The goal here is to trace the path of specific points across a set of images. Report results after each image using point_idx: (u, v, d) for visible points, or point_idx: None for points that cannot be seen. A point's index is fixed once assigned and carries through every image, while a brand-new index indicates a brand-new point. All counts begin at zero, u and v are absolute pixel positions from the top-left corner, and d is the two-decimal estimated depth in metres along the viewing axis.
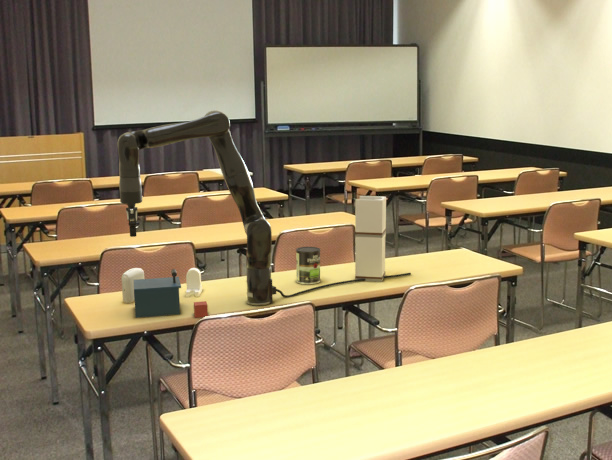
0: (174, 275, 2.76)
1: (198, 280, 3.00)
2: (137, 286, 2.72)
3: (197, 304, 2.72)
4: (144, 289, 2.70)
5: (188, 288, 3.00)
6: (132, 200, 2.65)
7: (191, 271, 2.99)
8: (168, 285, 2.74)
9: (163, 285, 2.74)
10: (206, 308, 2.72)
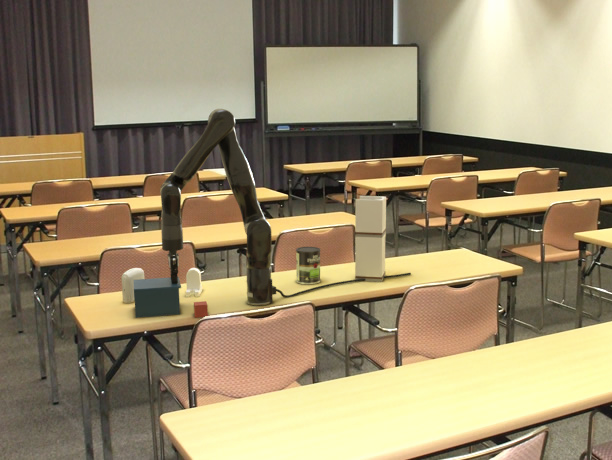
0: None
1: (198, 280, 3.00)
2: (137, 286, 2.72)
3: (197, 304, 2.72)
4: (144, 289, 2.70)
5: (188, 288, 3.00)
6: (174, 247, 2.73)
7: (191, 271, 2.99)
8: (168, 285, 2.74)
9: (163, 285, 2.74)
10: (206, 308, 2.72)
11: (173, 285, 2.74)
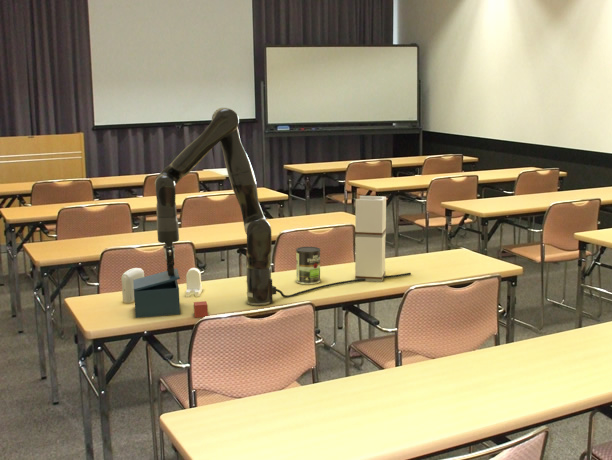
0: None
1: (198, 280, 3.00)
2: (137, 285, 2.72)
3: (197, 304, 2.72)
4: (144, 287, 2.69)
5: (188, 288, 3.00)
6: (170, 239, 2.72)
7: (191, 271, 2.99)
8: (167, 278, 2.73)
9: (162, 279, 2.73)
10: (206, 308, 2.72)
11: (172, 277, 2.73)
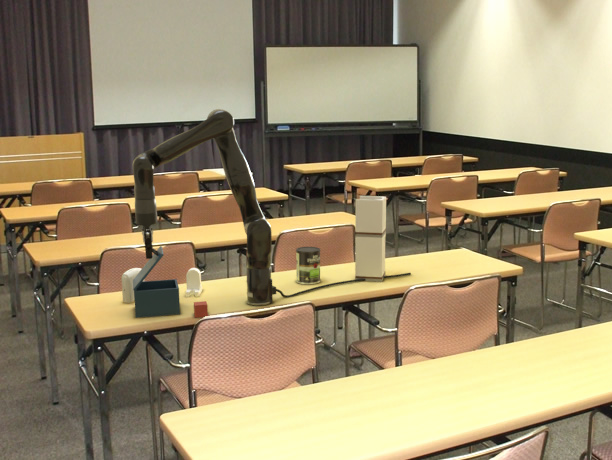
0: None
1: (198, 280, 3.00)
2: (135, 284, 2.72)
3: (197, 304, 2.72)
4: (140, 282, 2.69)
5: (188, 288, 3.00)
6: (148, 221, 2.69)
7: (191, 271, 2.99)
8: (154, 262, 2.71)
9: (151, 265, 2.71)
10: (206, 308, 2.72)
11: (157, 258, 2.70)
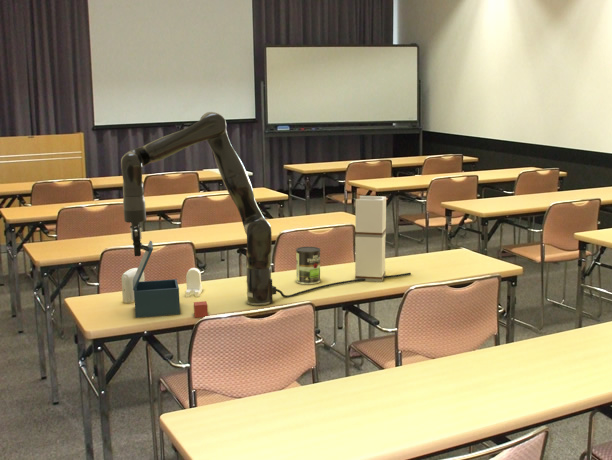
0: (140, 247, 2.71)
1: (198, 280, 3.00)
2: (134, 284, 2.72)
3: (197, 304, 2.72)
4: (137, 281, 2.68)
5: (188, 288, 3.00)
6: (136, 219, 2.67)
7: (191, 271, 2.99)
8: (146, 258, 2.70)
9: (144, 262, 2.70)
10: (206, 308, 2.72)
11: (148, 253, 2.69)
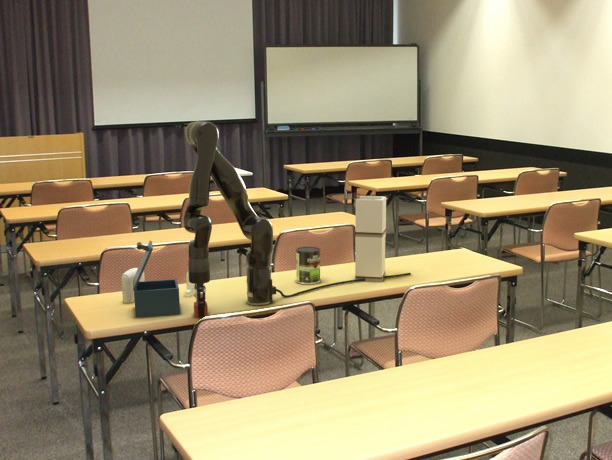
0: (140, 247, 2.71)
1: None
2: (134, 284, 2.72)
3: (197, 304, 2.72)
4: (137, 281, 2.68)
5: (188, 288, 3.00)
6: (201, 280, 2.68)
7: None
8: (145, 258, 2.70)
9: (144, 262, 2.70)
10: (206, 308, 2.72)
11: (147, 253, 2.69)
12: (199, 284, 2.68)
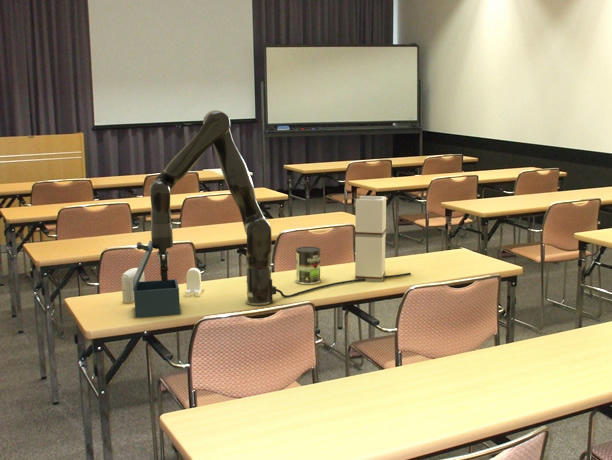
0: (140, 247, 2.71)
1: (198, 280, 3.00)
2: (134, 284, 2.72)
3: None
4: (137, 281, 2.68)
5: (188, 288, 3.00)
6: (164, 245, 2.72)
7: (191, 271, 2.99)
8: (145, 258, 2.70)
9: (144, 262, 2.70)
10: None
11: (147, 253, 2.69)
12: (161, 249, 2.72)
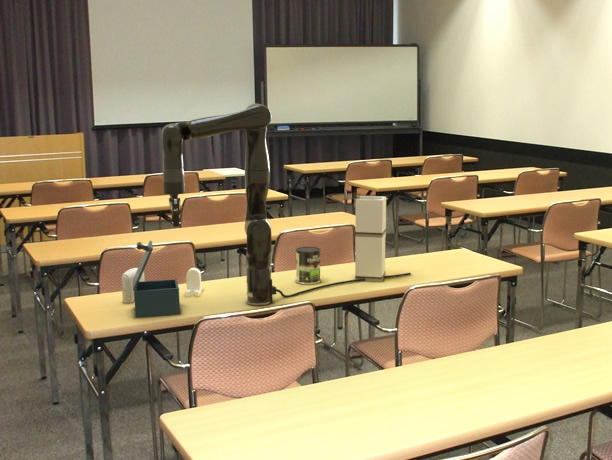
0: (140, 247, 2.71)
1: (198, 280, 3.00)
2: (134, 284, 2.72)
3: None
4: (137, 281, 2.68)
5: (188, 288, 3.00)
6: (175, 191, 2.69)
7: (191, 271, 2.99)
8: (145, 258, 2.70)
9: (144, 262, 2.70)
10: None
11: (147, 253, 2.69)
12: (173, 194, 2.69)
